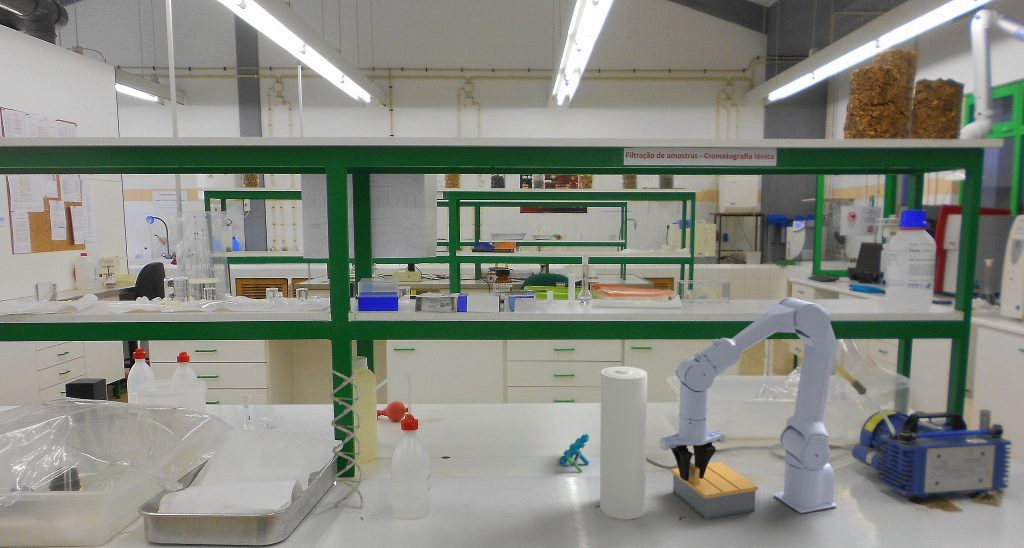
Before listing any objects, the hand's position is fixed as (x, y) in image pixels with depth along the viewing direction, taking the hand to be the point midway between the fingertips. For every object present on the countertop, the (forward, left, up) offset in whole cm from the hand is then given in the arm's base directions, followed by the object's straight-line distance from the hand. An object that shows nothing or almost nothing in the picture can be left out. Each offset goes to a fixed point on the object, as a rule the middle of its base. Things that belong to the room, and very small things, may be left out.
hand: (691, 477), depth 122 cm
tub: (-5, 0, -6) cm, 8 cm away
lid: (-5, 0, -2) cm, 6 cm away
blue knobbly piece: (+17, -26, -6) cm, 31 cm away
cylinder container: (+15, -3, -6) cm, 16 cm away
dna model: (+71, -20, -6) cm, 74 cm away
